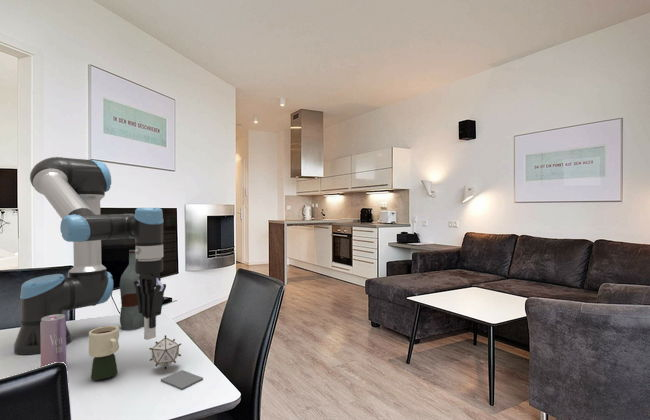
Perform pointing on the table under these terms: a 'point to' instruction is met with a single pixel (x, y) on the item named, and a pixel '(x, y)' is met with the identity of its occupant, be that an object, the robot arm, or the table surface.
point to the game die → (165, 352)
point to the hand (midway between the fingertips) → (150, 338)
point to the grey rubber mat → (181, 379)
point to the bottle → (130, 297)
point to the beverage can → (53, 339)
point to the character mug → (103, 351)
